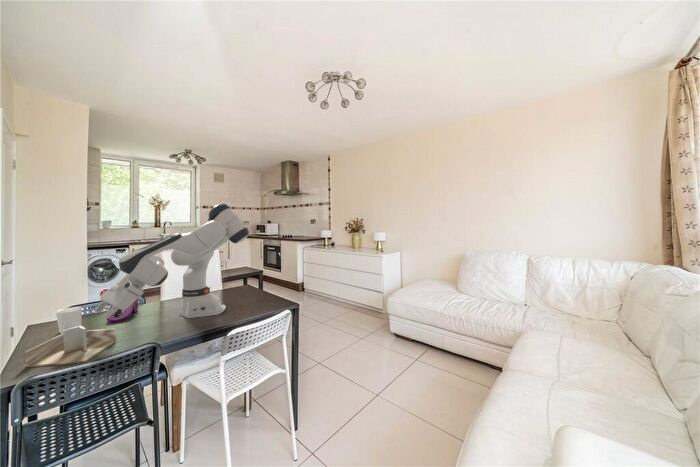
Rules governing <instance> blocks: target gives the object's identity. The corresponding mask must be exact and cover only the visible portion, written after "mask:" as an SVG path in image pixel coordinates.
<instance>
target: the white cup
mask: <svg viewBox="0 0 700 467" xmlns="http://www.w3.org/2000/svg"><path fill="white" fill-rule="evenodd" d="M82 309H83V308H82V307H81V306H73V307H66V308H63V309H60V310H59V309H58V310H57V311H56V312H55V313H56V319H57V321H56V322H57V326H58V332H59V333H60V334H62V333H63V330H66V329H70V328H74V327H78V326H82V318H83V317H82V313H83V312H82V311H83V310H82Z"/></svg>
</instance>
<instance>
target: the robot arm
mask: <svg viewBox="0 0 700 467" xmlns="http://www.w3.org/2000/svg"><path fill="white" fill-rule="evenodd" d="M248 236H250V231H249V229H248V227H246V225H245V223H243V221H242V219H241V218H240V217H239V216H238V215H237V214H236V213H235V212H234V211H233V210H232V209H231V207H230V206H229V205H227V204H226V203H220V204H216V205H215V206H213V207H212V208H211V209H210V210H209V213H208V218H207V222H206V223H203V224H201V225H200V226H198V227H197V228H195V229H193V230H192V231H190V232H187V233H178V232H175V233H172V234H170V235H167V236H166V237H163V238H161V239H159V240H157V241H154V242H152V243H150V244H147V245H146V246H144V247H140V248H139V249H136V250H135V249H134V250H132V251H130V252H128V253H126V254H125V255H124V256H122V257H121V258H120V259H119V261H118V266H119V270H120V271H121V272H122V273H125V275H124V276H123V277H122V278H120V280H119V281H118V282H116V285H113V286H111V287H110V288H109V289H107V290H106V291H105V292H104V293H103V294H101V296H100V297H99V300H101V302H100V303H99V304H98V305H97V307H96V308H95V309H94V312H98V313H97V314H100V313H102V312H101V311H104V309H105V308H104V307H106V306H109V305H110V306H111V305H113V306H112V307H111V309H110V308H109V309H110V310H109V311H105V312H103V314H102V316H103V317H104V318H106V319H107V318H108V317H110V316H111V315H112V314H113V313H115V312H116V311H118V310H119V309H121V310H122V311H124V310H125V309H127V308H128V307H129V306H130V305H131V304H132V303H133V302H134V301H135V300H136V299H138V298H139V297H141V296H142V295H143V294H144V293H145V292H144V289H143V288H144V287H145V286H146V285H147V286H150V287H156V286H160V285H162V284H163V283H164V282H165V281H166V279H167V278H168V275H169V272H168V269H166V267H165V260H163V259H162V258H161V257H159V256H156V255H157V254H159V253H162V252H165V251H166V250H172V252H171V253H170V254H171V255H170V258H171V261H172V263H173V264H174V265H176V266H179V267H182V266H183V267H184V266H187V269H186V270H185V271H184V273H183V276H182V290H181V291H182V292H181V296H182V306H181V311H180V316H182V317H185V318H186V319H194V318H199V317H201V318H202V317H208V316H217V315H220V314H222V313H223V312H224V311H226V308H227V307H226V305H225V304H222V301H221V298H220V297H219V296H217V295H216V294H214V293H211V289H212V288H211V286H209V287H208V286H207V269H208V267H209V263H210V261H211V259H212V258H213V257H214V254H215V251H217V250H218V249H219V248H221V247H222V246H224V245H225V244H226V243H227V242H228V241H230V243H232V244H239V243H242V242H244V241H245V240H246V239H247V238H248Z"/></svg>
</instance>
